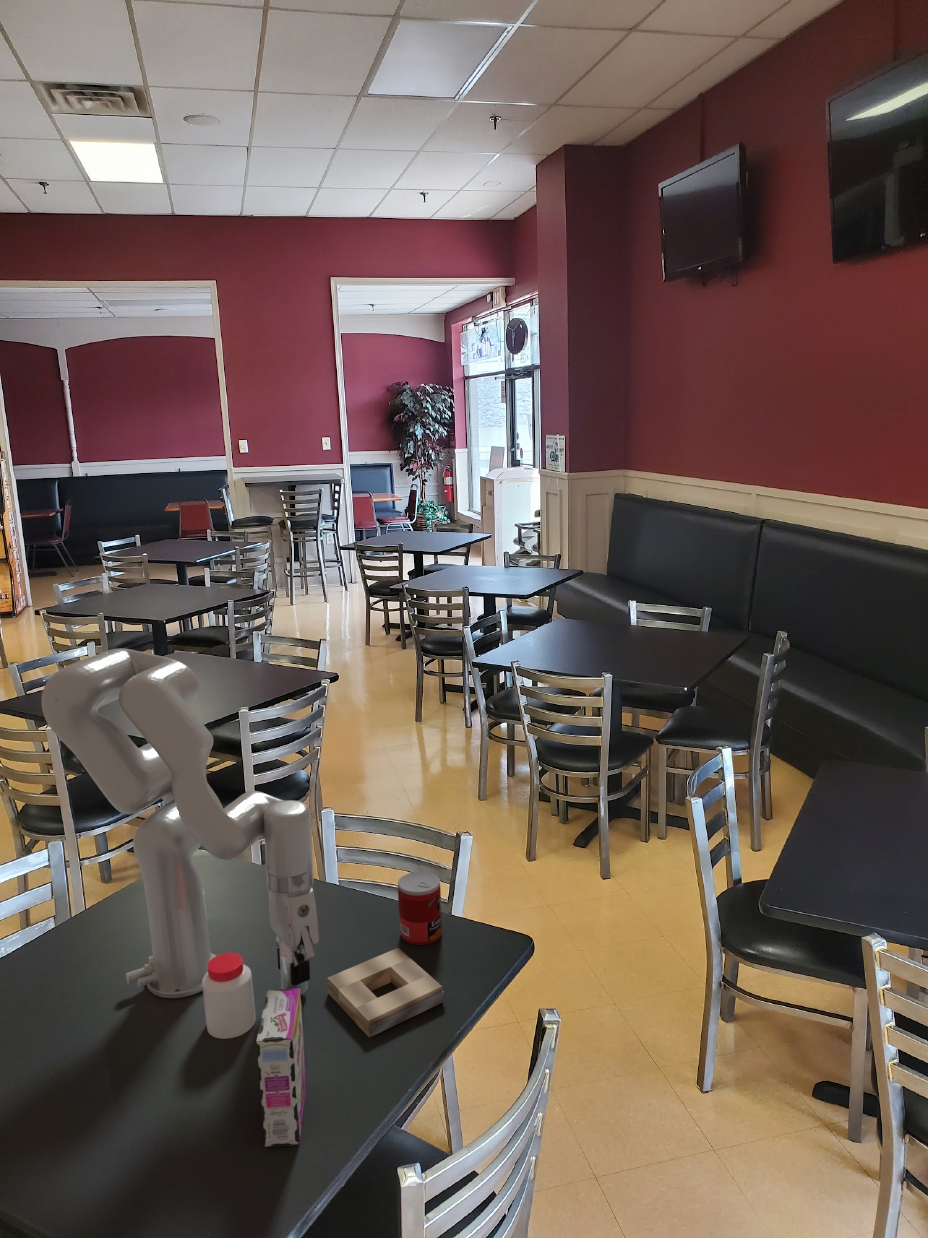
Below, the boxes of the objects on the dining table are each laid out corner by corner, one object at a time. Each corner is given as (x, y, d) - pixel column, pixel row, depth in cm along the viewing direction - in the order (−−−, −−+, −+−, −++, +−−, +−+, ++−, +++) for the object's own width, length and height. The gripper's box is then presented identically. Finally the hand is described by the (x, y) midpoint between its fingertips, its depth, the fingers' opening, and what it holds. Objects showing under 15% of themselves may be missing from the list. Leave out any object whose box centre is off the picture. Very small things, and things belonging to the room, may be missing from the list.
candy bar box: (302, 1146, 118) (293, 1039, 114) (264, 1149, 118) (253, 1042, 114) (309, 1085, 129) (301, 986, 125) (274, 1088, 128) (265, 988, 125)
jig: (371, 1039, 138) (370, 1023, 137) (328, 993, 150) (327, 977, 149) (444, 1004, 146) (444, 988, 145) (398, 962, 157) (398, 947, 157)
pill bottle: (212, 1045, 138) (205, 983, 135) (202, 1017, 145) (195, 957, 142) (261, 1029, 141) (255, 968, 139) (249, 1002, 148) (243, 943, 146)
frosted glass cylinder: (288, 1000, 146) (285, 946, 144) (277, 986, 149) (274, 934, 147) (312, 990, 148) (310, 938, 146) (300, 977, 152) (298, 925, 150)
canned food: (437, 948, 161) (434, 893, 159) (395, 944, 163) (392, 890, 161) (446, 925, 169) (444, 872, 166) (406, 921, 170) (403, 870, 168)
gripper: (334, 891, 140) (337, 992, 144) (289, 849, 153) (293, 943, 157) (290, 906, 135) (294, 1010, 140) (248, 861, 149) (253, 957, 153)
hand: (293, 973), depth 148 cm, fingers closed on frosted glass cylinder, 4 cm apart
